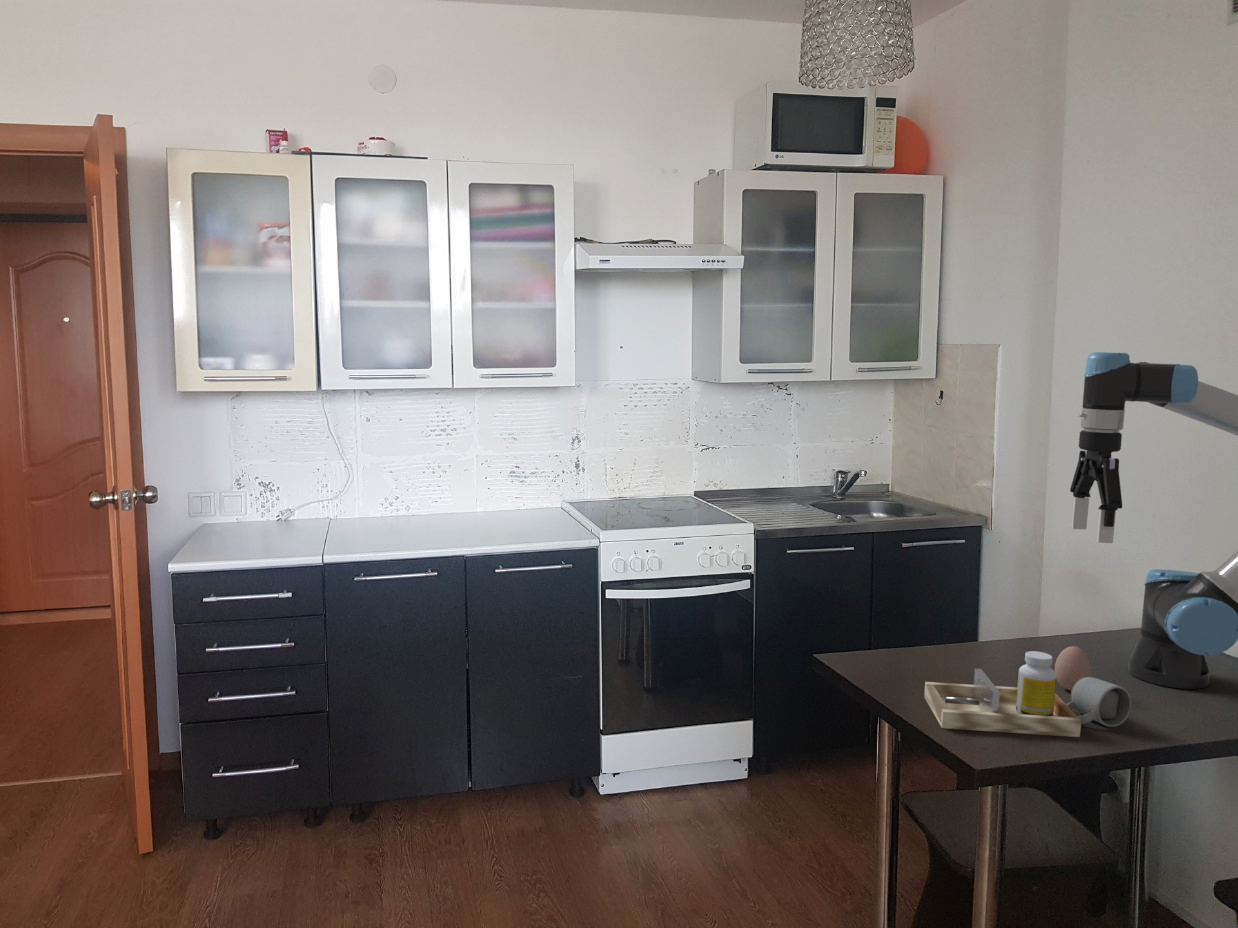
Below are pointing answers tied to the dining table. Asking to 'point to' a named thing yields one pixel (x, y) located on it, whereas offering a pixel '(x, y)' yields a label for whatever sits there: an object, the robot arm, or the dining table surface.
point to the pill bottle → (1036, 685)
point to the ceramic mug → (1100, 701)
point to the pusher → (980, 694)
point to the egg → (1071, 667)
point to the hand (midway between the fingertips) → (1091, 535)
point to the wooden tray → (1004, 720)
